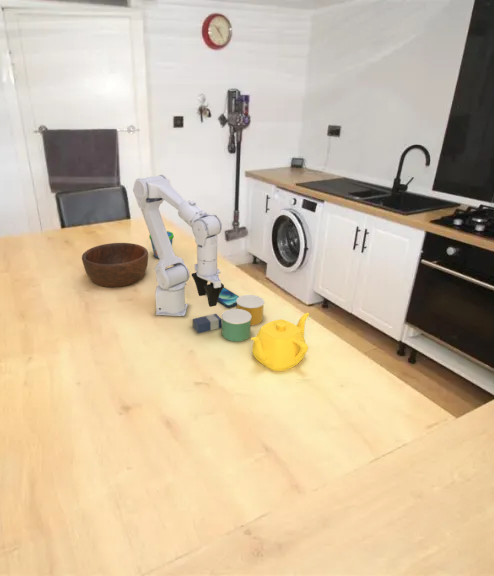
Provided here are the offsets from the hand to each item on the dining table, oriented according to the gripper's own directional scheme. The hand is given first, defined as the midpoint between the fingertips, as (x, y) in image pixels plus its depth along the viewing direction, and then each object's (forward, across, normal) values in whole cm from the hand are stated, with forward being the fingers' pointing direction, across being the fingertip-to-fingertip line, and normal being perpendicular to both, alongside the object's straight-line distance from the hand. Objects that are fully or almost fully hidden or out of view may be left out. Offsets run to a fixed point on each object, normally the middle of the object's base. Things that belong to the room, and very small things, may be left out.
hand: (207, 300), depth 123 cm
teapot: (+10, -24, -12) cm, 28 cm away
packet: (+9, 0, 0) cm, 9 cm away
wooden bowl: (+10, +50, +16) cm, 53 cm away
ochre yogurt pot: (+9, 0, -15) cm, 17 cm away
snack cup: (+10, +65, -8) cm, 66 cm away
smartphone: (+10, +16, -14) cm, 23 cm away
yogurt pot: (+10, -7, -6) cm, 13 cm away
